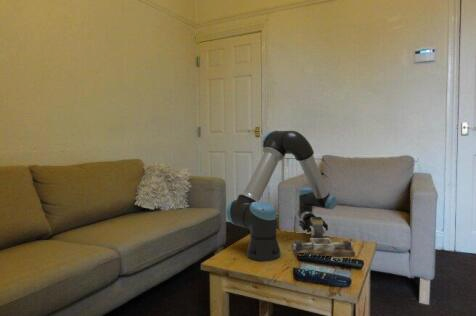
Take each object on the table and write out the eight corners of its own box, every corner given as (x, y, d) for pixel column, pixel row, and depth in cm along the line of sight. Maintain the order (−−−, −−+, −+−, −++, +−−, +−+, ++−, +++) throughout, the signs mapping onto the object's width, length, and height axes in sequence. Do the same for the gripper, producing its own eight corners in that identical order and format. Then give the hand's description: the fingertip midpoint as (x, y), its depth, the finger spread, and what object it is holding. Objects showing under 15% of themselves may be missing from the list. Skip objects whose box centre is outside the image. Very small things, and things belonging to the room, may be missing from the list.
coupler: (312, 245, 164) (312, 219, 163) (310, 242, 169) (310, 216, 168) (322, 245, 164) (323, 219, 163) (320, 242, 169) (320, 216, 168)
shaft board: (294, 257, 150) (294, 245, 149) (290, 247, 162) (290, 237, 161) (356, 256, 149) (356, 244, 149) (347, 247, 161) (347, 236, 161)
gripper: (325, 226, 184) (337, 239, 161) (292, 226, 184) (300, 240, 161) (325, 212, 183) (338, 224, 160) (292, 213, 184) (300, 224, 160)
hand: (319, 232), depth 161 cm, fingers closed on coupler, 5 cm apart
